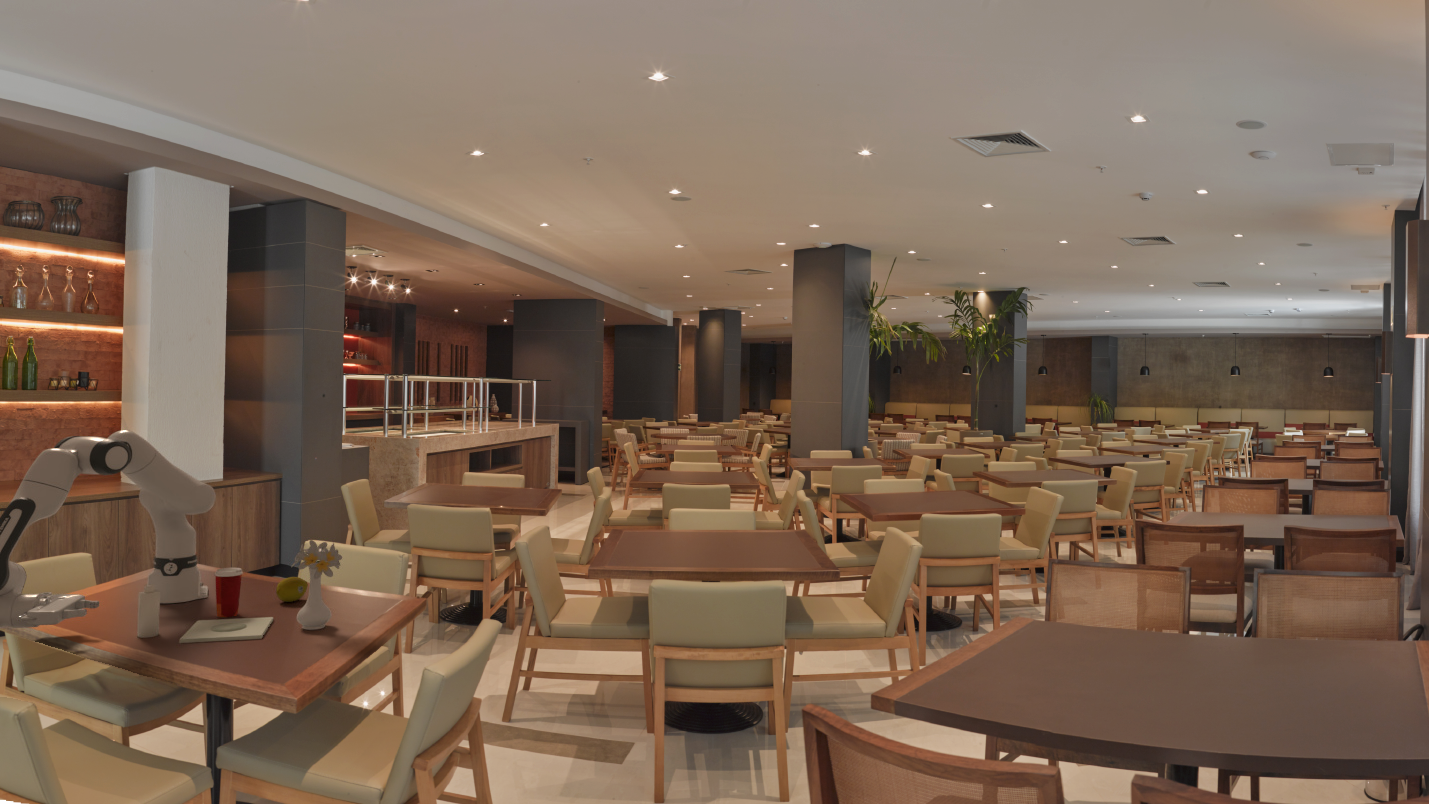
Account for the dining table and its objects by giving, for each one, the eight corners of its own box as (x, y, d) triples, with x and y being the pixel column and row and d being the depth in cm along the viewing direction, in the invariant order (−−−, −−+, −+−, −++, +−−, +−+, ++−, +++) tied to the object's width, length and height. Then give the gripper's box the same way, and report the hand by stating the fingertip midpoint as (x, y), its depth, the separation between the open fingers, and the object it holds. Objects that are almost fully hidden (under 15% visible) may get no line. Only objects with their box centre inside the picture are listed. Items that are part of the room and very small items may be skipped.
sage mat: (197, 623, 251) (197, 619, 251) (273, 620, 258) (273, 616, 258) (179, 643, 232) (179, 638, 232) (261, 638, 239) (261, 634, 239)
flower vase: (306, 638, 241) (309, 549, 241) (280, 625, 253) (283, 540, 253) (352, 630, 250) (354, 545, 250) (325, 617, 263) (327, 536, 263)
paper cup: (247, 612, 265) (248, 567, 265) (230, 619, 258) (232, 572, 258) (223, 611, 266) (225, 566, 266) (206, 617, 258) (208, 571, 258)
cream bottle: (140, 633, 240) (141, 583, 240) (160, 632, 242) (162, 582, 242) (134, 638, 235) (136, 587, 235) (155, 637, 237) (157, 586, 237)
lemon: (281, 606, 275) (282, 581, 274) (269, 602, 279) (270, 577, 279) (314, 600, 283) (314, 576, 283) (301, 596, 288) (302, 572, 288)
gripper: (14, 607, 220) (78, 605, 224) (47, 590, 239) (105, 589, 244) (13, 632, 220) (77, 629, 224) (46, 613, 239) (104, 611, 243)
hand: (92, 608), depth 234 cm, fingers open, 8 cm apart
